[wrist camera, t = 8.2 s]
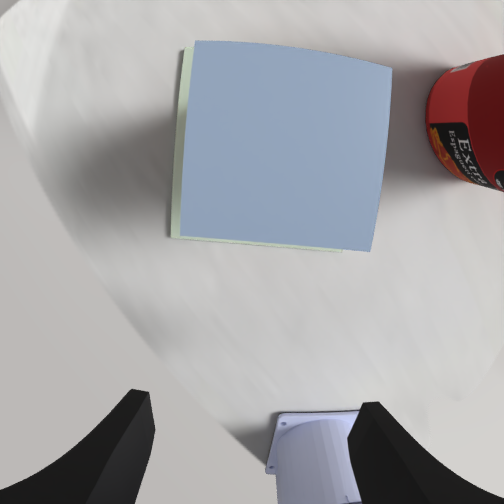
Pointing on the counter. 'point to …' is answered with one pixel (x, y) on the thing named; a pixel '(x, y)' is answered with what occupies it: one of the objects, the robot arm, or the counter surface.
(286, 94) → the blue brick
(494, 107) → the canned food
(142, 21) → the counter surface
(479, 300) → the counter surface
